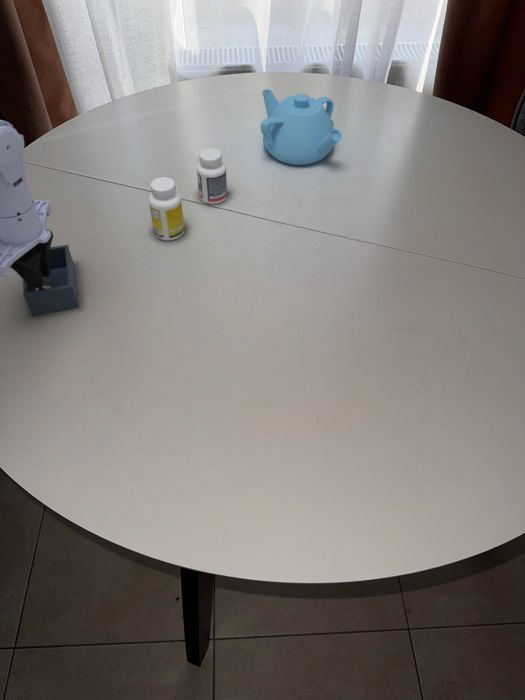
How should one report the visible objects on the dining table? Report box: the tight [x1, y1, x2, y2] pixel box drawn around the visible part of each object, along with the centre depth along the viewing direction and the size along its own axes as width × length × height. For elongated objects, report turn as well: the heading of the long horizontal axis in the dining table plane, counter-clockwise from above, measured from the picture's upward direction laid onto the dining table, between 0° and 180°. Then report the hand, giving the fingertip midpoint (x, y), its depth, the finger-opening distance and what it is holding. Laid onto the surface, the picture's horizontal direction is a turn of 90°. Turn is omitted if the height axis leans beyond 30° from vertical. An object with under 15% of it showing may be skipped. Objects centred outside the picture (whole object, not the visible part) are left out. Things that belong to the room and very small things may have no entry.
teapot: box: [260, 88, 343, 166], centre depth 116 cm, size 15×17×11 cm
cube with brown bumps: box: [35, 286, 51, 291], centre depth 89 cm, size 2×2×2 cm
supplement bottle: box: [148, 176, 185, 241], centre depth 99 cm, size 5×5×10 cm
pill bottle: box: [196, 147, 228, 205], centre depth 106 cm, size 5×5×9 cm
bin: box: [22, 244, 80, 316], centre depth 91 cm, size 10×7×4 cm
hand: (39, 280), depth 87 cm, fingers closed
